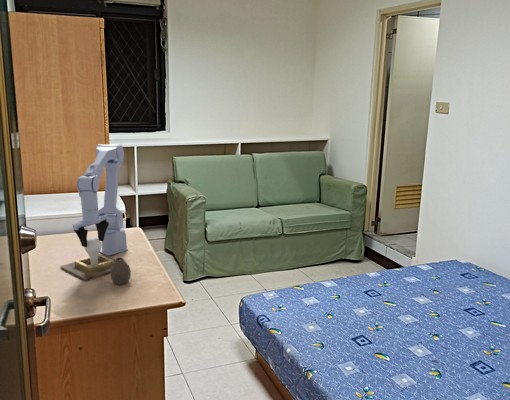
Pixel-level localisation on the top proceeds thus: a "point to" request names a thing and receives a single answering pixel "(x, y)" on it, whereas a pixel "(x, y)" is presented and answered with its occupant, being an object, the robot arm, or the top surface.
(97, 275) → the lamp base
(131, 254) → the top surface
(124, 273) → the vase
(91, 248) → the white light bulb
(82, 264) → the socket collar
